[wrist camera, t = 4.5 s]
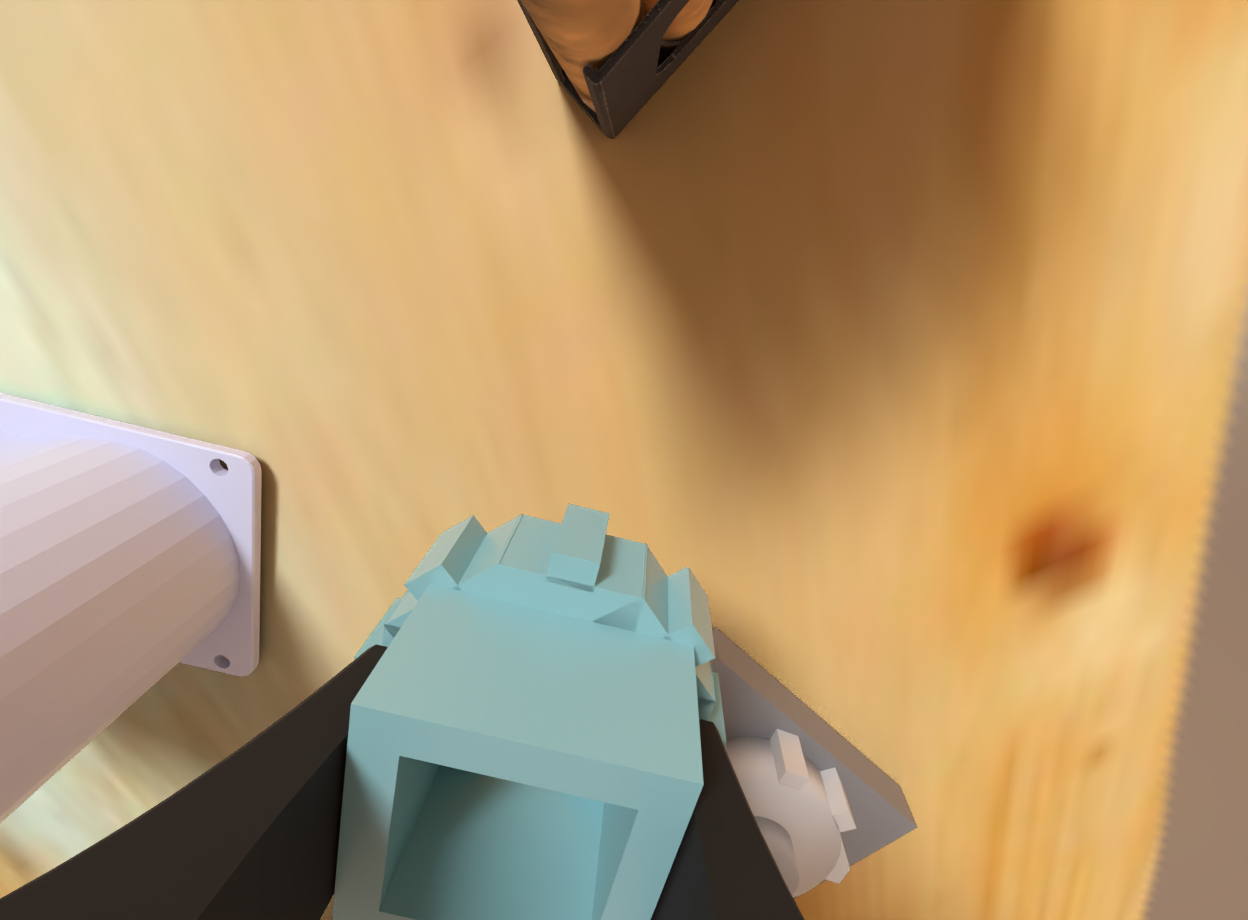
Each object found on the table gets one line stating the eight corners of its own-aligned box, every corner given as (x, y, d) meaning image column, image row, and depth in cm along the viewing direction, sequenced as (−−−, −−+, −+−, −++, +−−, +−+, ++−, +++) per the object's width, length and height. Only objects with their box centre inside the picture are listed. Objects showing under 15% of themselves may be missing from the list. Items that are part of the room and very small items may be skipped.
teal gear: (380, 734, 12) (256, 959, 8) (411, 466, 10) (262, 608, 6) (671, 800, 12) (673, 1049, 9) (763, 550, 10) (821, 738, 6)
